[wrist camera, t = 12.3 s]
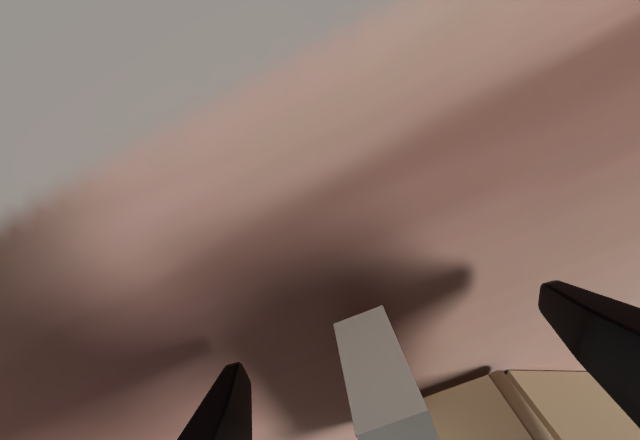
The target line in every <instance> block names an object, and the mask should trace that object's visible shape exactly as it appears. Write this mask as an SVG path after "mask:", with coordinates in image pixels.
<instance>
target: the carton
mask: <svg viewBox="0 0 640 440" xmlns="http://www.w3.org/2000/svg"><path fill="white" fill-rule="evenodd" d="M506 376H507V377H508V378H509V380H510V381H511V382H512V384H513V385H514V386H515V388H516V389H517V390H518V392H519V393H520V394H521V396H522V397H523V398H524V400H525V401H526V402H527V404H528V405H529V406H530V408H531V409H532V410H533V412H534V413H535V414H536V416H537V417H538V418H539V420H540V421H541V422H542V424H543V425H544V426H545V428H546V429H547V430H548V432H549V433H550V434H551V436H552V437H553V438H554V440H640V428H639V427H638V426H637V425H636V424H635V423H634V422H633V421H632V420H631V419H630V417H629V416H628V415H627V414H626V413H625V412H624V411H623V410H622V409H621V408H620V407H619V405H618V404H617V403H616V402H615V401H614V400H613V399H612V398H611V397H610V396H609V394H608V393H607V392H606V391H605V390H604V389H603V388H602V387H601V386H600V385H599V384H598V382H597V381H596V380H595V379H594V378H593V377H592V376H591V375H590V374H589V373H588V372H573V371H514V370H509V371H508V372H507V374H506Z"/></svg>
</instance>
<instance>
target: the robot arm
mask: <svg viewBox="0 0 640 440" xmlns="http://www.w3.org/2000/svg"><path fill="white" fill-rule="evenodd" d="M538 306H539V309H540V311H541V313H542V315H543V316H544V317H545V319H546V320H547V321H548V322H549V324H550V325H551V326H552V328H553V329H554V330H555V332H556V333H557V334H558V336H559V337H560V338H561V340H562V341H563V342H564V343H565V345H566V346H567V347H568V349H569V350H570V351H571V353H572V354H573V355H574V356H575V358H576V359H577V360H578V361H579V362H580V364H581V365H582V366H583V367H584V368H585V369H586V370H587V371H588V373H589V374H590V375H591V376H592V377H593V378H594V379H595V380H596V381H597V382H598V384H599V385H600V386H601V387H602V388H603V389H604V390H605V391H606V392H607V393H608V394H609V396H610V397H611V398H612V399H613V400H614V401H615V402H616V403H617V404H618V405H619V407H620V408H621V409H622V410H623V411H624V412H625V413H626V414H627V415H628V416H629V417H630V419H631V420H632V421H633V422H634V423H635V424H636V425H637V426H638V427H639V428H640V308H638V307H635V306H632V305H629V304H626V303H623V302H621V301H618V300H615V299H612V298H609V297H606V296H603V295H600V294H597V293H594V292H591V291H588V290H585V289H582V288H579V287H576V286H573V285H570V284H567V283H564V282H561V281H557V280H555V281H550V282H546V283H543V284H542V285H541V286H540V293H539V302H538ZM177 440H252V398H251V382H250V379H249V377H248V375H247V373H246V371H245V369H244V367H243V365H242V364H241V363H240V362H236V363H232V364H228V365H226V366H225V367H224V369H223V370H222V372H221V373H220V375H219V376H218V378H217V380H216V381H215V383H214V384H213V386H212V387H211V389H210V390H209V392H208V393H207V395H206V396H205V398H204V399H203V401H202V402H201V404H200V405H199V407H198V409H197V410H196V412H195V413H194V415H193V416H192V418H191V419H190V421H189V422H188V424H187V425H186V427H185V428H184V430H183V431H182V433H181V435H180V436H179V438H178V439H177Z"/></svg>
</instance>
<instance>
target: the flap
mask: <svg viewBox="0 0 640 440" xmlns="http://www.w3.org/2000/svg"><path fill="white" fill-rule="evenodd" d="M333 325H334V330H335V335H336V340H337V345H338V350H339V355H340V360H341V365H342V370H343V375H344V380H345V385H346V390H347V395H348V400H349V405H350V410H351V415H352V420H353V425H354V430H355V435H356V437H357V439H358V440H554V438H553V437H552V436H551V434H550V433H549V432H548V430H547V429H546V428H545V426H544V425H543V424H542V422H541V421H540V420H539V418H538V417H537V416H536V414H535V413H534V412H533V410H532V409H531V408H530V406H529V405H528V404H527V402H526V401H525V400H524V398H523V397H522V396H521V394H520V393H519V392H518V390H517V389H516V388H515V386H514V385H513V384H512V382H511V381H510V380H509V378H508V377H507V376H506V374H505V373H504V372H503V371H495V372H493V373H491V374H490V375H486V376H483V377H480V378H477V379H474V380H472V381H469V382H466V383H463V384H460V385H458V386H455V387H452V388H449V389H446V390H444V391H441V392H438V393H435V394H432V395H430V396H427V397H424V398H423V397H422V395H421V393H420V390H419V388H418V386H417V383H416V381H415V379H414V377H413V374H412V372H411V370H410V367H409V365H408V363H407V360H406V358H405V356H404V354H403V351H402V349H401V347H400V344H399V342H398V340H397V337H396V335H395V333H394V331H393V328H392V326H391V324H390V321H389V319H388V317H387V314H386V312H385V310H384V308H383V305H381V306H379V307H376V308H373V309H371V310H368V311H366V312H363V313H360V314H358V315H355V316H352V317H350V318H347V319H345V320H342V321H339V322H337V323H334V324H333Z"/></svg>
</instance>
